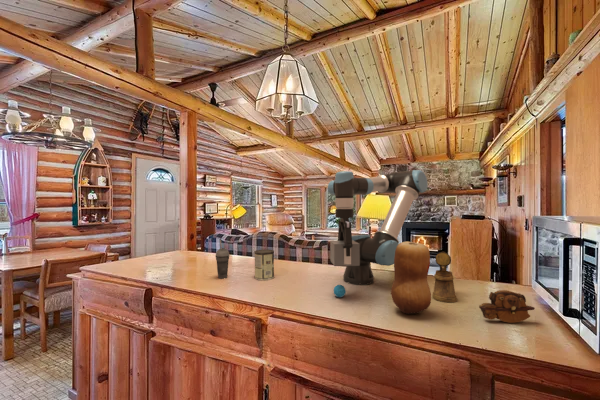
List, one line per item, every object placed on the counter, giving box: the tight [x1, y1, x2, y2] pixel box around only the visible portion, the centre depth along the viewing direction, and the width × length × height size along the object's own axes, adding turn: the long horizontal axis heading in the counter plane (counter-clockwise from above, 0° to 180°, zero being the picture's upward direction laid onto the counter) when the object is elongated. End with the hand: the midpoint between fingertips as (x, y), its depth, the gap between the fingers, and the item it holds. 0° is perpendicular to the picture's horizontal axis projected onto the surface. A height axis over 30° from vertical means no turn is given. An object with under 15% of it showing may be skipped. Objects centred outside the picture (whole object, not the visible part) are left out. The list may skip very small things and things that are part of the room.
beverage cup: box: [215, 239, 231, 280], centre depth 150 cm, size 7×7×20 cm
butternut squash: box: [390, 240, 432, 315], centre depth 102 cm, size 14×13×25 cm
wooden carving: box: [478, 289, 536, 324], centre depth 93 cm, size 16×5×10 cm, turn 90°
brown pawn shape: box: [431, 251, 458, 303], centre depth 118 cm, size 9×14×18 cm, turn 155°
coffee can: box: [253, 249, 275, 281], centre depth 150 cm, size 10×10×14 cm
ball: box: [333, 284, 347, 298], centre depth 118 cm, size 5×5×5 cm
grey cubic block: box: [329, 240, 360, 267], centre depth 119 cm, size 10×10×9 cm
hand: (344, 261), depth 119 cm, fingers closed on grey cubic block, 10 cm apart
